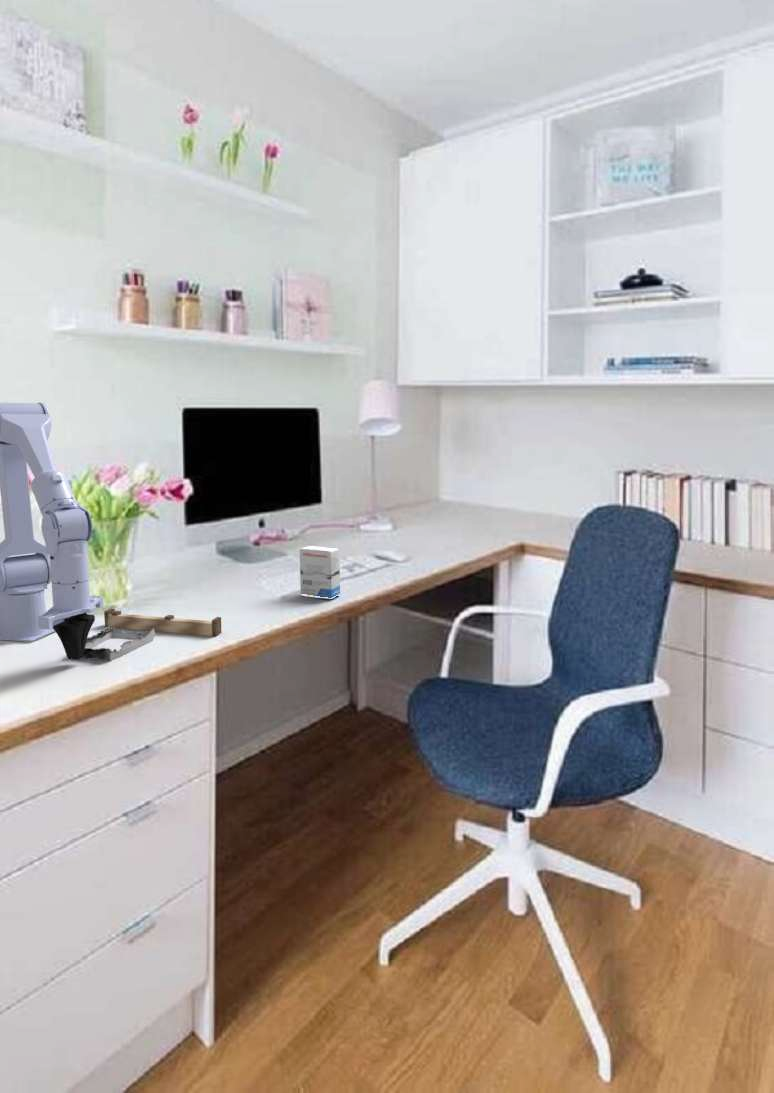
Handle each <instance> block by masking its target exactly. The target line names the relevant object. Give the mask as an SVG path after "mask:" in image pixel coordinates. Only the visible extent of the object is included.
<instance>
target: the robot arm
mask: <svg viewBox="0 0 774 1093" xmlns="http://www.w3.org/2000/svg"><path fill="white" fill-rule="evenodd" d="M50 412H51V411H50V409H49V408H48V407H47V405H46V404H45V403H44V402H37V403H33V402H29V403H28V402H0V500H1V508H2V509H1V510H2V511H1V512H2V520H3V529H4V539H3V540H2V541H1V542H0V640H2V641H12V642H13V641H14V642H22V643H23V642H24V643H32V642H34V641H36V640H39V639H41V638H43V637H46V636H47V635H50V634H52V633H56V635H57V636H58V638H59V640H60V642H61V644H62V646H63V649H64V652H65V655H66V657H67V659H68V660H74V661H79V660H81V659H83V655H84V650H85V645H86V641H87V638H88V637H89V634H90V630H92V629H91V628H92V626H93V624H94V623H95V621H96V616H95V615H94V614H92V613H93V612H95V611H96V610H97V609H100V608H103V607H104V597H103V595H94V594H93V595H91V594H90V577H89V576H90V575H89V574H90V573H89V561H88V560H89V559H88V557H89V556H88V545H87V544H88V543H87V542H89V541H90V540H91V539H92V536H93V535H92V534H93V520H92V518H91V517H92V516H91V514H90V512H89V510H88V509H87V508H86V507H85V506H83V503H82V502H77V500H76V497H75V495H74V492H73V489H72V487H71V485H70V483H69V480H68V477H67V476H66V474H64V473H63V472H62V471H58V470H57V468H56V465H55V462H54V458H53V457H54V456H53V455H52V451H51V448H50V444H49V438H50V433H51V429H52V415H51V413H50ZM28 467H29V469H30V471H31V473H32V475H33V479H32V481H31V483H30V481H29V480H30V479H29V470H28ZM30 488H31V489H30ZM30 490H32V493H33V495H34V499H35V500H36V503H37V506H38V508H39V512H40V513H41V516H42V518H41V526H40V527H41V534H42V536H43V539H44V543H45V544H44V543H43V542H41V541H39V540H38V539H36V538H35V534H34V525H33V524H34V523H33V513H32V502H31V501H32V500H31V491H30ZM50 584H51V596H52V607H51V608H50V609H48V610H46V596H45V590H48V585H50ZM90 613H91V614H90Z"/></svg>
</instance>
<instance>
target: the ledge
mask: <svg viewBox="0 0 774 1093" xmlns="http://www.w3.org/2000/svg"><path fill="white" fill-rule="evenodd" d="M103 613H104V614H103V615H104V627H105V628H106V627H109V626H111V627H112V628H115V629H124V630H125V629H126V630H137V631H147V632H150V631H151V630H152V629H154V632H158V633H159V632H160V633H161V632H162V633H170V634H171V633H173V634H182V635H195V636H207V637H217V636H219V635H220V634H222V616H217V617H215V618H212V619H211V620H201V619H189V618H188V619H187V618H176V617H175V615H174V614H167V615H165V616H152V615H151V616H150V615H140V614H139V615H138V614H127V613H122V610H116V609H115V608H108V609H106V610H104V611H103Z"/></svg>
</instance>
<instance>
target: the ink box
mask: <svg viewBox="0 0 774 1093" xmlns="http://www.w3.org/2000/svg"><path fill="white" fill-rule="evenodd" d="M340 564H341V562H340V548H335V547H334V548H333V547H325V546H317V545H316V546H314V545H309V546H304V547H301V548H300V549H299V576H300V577H299V580H300V582H299V583H300V586H299V587H300V588H299V589H300V595H301V594H307V595H313V596H320V597H328V598H332V597H334V596H336V595H338V594H340V595H341V577H340V576H341V574H340V573H341V570H340V568H341V567H340Z"/></svg>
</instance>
